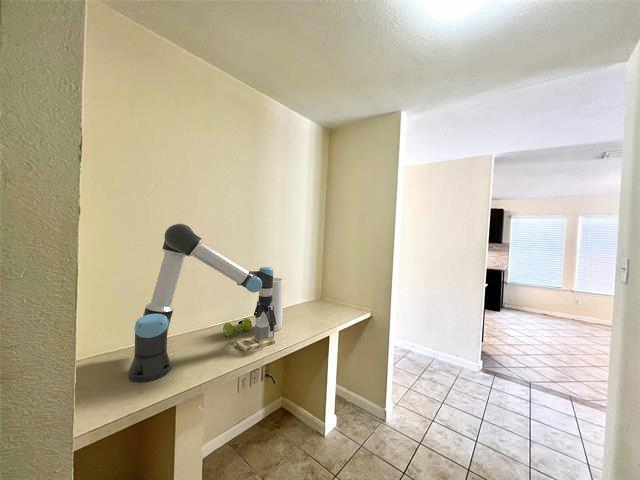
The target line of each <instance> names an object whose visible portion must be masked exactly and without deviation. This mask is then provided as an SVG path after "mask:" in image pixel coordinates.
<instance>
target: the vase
mask: <svg viewBox="0 0 640 480" xmlns="http://www.w3.org/2000/svg"><path fill="white" fill-rule="evenodd" d="M284 280H285V279H284V278H282V277H275V276H273V291H272V302H271V303H270V306H274V314H275V319H276V325H275V327H274V332H277V331H280V330H281V329H282V327H283V326H282V325H283V314H284V313H283V312H284V311H283V310H284V309H283V308H284V288H285V287H284V286H285V285H284V282H285V281H284ZM268 312H269V311H268ZM265 322H268V319H267V316H266V314H265V312H262V314H261V323H265Z"/></svg>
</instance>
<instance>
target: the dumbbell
mask: <svg viewBox="0 0 640 480" xmlns="http://www.w3.org/2000/svg"><path fill="white" fill-rule="evenodd" d="M252 327H253V325H252V320H251V319H249V318H246V317H245V318H244V319H242V321H241V323H239V324H234V325H233V324H232V323H230V322H225V323H224V325H223V327H222V332H223V335H224V336H225V337H228V338H229V337H232V335H233V333H234V331H239V330H243V331H244V332H251V329H252Z"/></svg>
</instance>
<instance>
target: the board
mask: <svg viewBox="0 0 640 480" xmlns="http://www.w3.org/2000/svg"><path fill="white" fill-rule="evenodd" d="M275 344H276V339H275V338H274V339H271V340H267V341H264V342H260V343H259V342H258V341H257V340H255V339H254V336H252V337H249V338H246V339H243V340H239V341H236V346H237V347H238V348H239V349H240V350H241V351H243V352H244V353H248V352H251V351H255V350H257V349H262V348H265V347H268V346H271V345H275Z"/></svg>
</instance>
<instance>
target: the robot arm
mask: <svg viewBox="0 0 640 480" xmlns="http://www.w3.org/2000/svg"><path fill="white" fill-rule="evenodd" d="M163 237H164V241H163V245H162V251H163V253H164V255H163V258H162V262H161V265H160V269H159V272H158V275H157V279H156V283H155V287H154V289H153V293H152V298H151V300H150V302H149V303H148V304H146V305H145V308H144V312H143V316H141V317H139V318H138V319H137V320H136V321H135V326H134V356H133V359H132V362H131V364H130V367H129V370H128V379H129V380H130V381H133V382H137V383H145V382H150V381H154V380H157V379H159V378H162V377H164V376H166V375H167V374H169V372H170V371H171V369H172V362H171V359H170V357H169V353H168V351H167V350H168V349H167V348H168V333H169V328H170V324H171V322H172V321H171V320H172V316H173V313H174V310H175V308H174V307H173V306H172V304H173V300H174V297H175V293H176V290H177V287H178V286H177V285H178V283H179V278H180V275H181V271H182V267H183V264H184V261H185V257H186V256H187V257H193V258H195V259H197V260H198V261H200V262H201V263H204V264H205V265H207V266H208V267H210V268H212V269H213V270H215V271H217V272H218V273H220V274H222V275H224V276H225V277H227V278H229V279H230V280H231V281H234V282H235V283H236V285H237V286H238V287H239V286H240V287H244V288H245V289H246V290H247V291H248V292H251V293H252V294H253V293H258V298H257V299H258V301H256V306H255V309H254V312H253V316H254V317H255V325H256V324H260V323H261V314H262V312H265V314H266V316H267V319H268V322H269V325H268V338H269V337H272V336H273V328H274V325H276V319H275V314H274V306H270V303H271V302H272V291H273V277H274V268H273V267H270V266H261V267H259V270H255V271H253V270H252V271H251V270H247V269H246V268H244V267H243V266H241V265H239V264H238V263H236V262H235V261H234V260H232V259H230V258H228V257H227V256H226V255H224V254H222V253H221V252H219V251H217V249H214V248H213V247H212V246H210V245H208V244H206V242H204V241H203V237H200V236H199V235H197V234H196V233H195V232H194V231H193V228H191V227H190V226H189V225H187V224H185V223H176V224H172V225H171V226H169V227H168V228H167V229H166V230H165V232H164V236H163ZM268 311H269V312H268Z"/></svg>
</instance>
